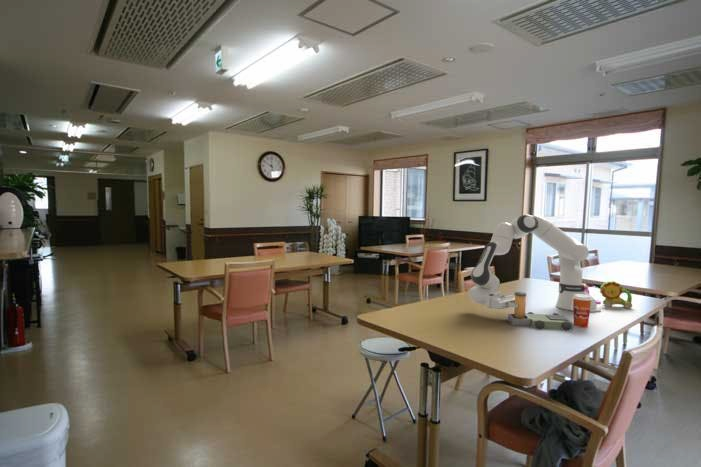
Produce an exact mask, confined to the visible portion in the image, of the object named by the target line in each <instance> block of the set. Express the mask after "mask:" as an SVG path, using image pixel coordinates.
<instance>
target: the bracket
mask: <svg viewBox="0 0 701 467" xmlns="http://www.w3.org/2000/svg"><path fill="white" fill-rule="evenodd" d="M585 292H587V293H588V294H589V295H590V290H589V289H588V290H585ZM595 301H596V305H600V304H601V302H602V301H601V300H599V299H595Z"/></svg>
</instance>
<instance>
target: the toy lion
mask: <svg viewBox="0 0 701 467" xmlns="http://www.w3.org/2000/svg"><path fill="white" fill-rule="evenodd" d="M599 292H600V294H601V296H602V297H603V298H605V299H603V301H602V304H603V305H604V306H606V307H607V308H611V307H612V306H614V305H621V306H622V307H624V308H626V309H631V308H632V307H633V304H632V301H633V300H632V299H633V298H632V297H633V296H632V293H630V291H628V290H627V289H625V288H624V287H623V286H622V285H621V284H620V283H619V282H616V281H614V280H612V281H606V282H602V285H600V290H599ZM622 294H626V295H627V298H626V300H625V299H624V298H622V297H620V296H621V295H622Z"/></svg>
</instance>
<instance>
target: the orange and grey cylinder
mask: <svg viewBox="0 0 701 467" xmlns="http://www.w3.org/2000/svg"><path fill="white" fill-rule="evenodd" d="M514 296H515V303H516V304H519V307H518V308H515V307H513V309H514V310H513V314H514V318H523V319H525V313H526V305H525V303H526V304H527V302H526V300H527V299H526V298H527V297H526V296H527V293H526V292H524V291H523V292H522V291H514Z"/></svg>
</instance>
